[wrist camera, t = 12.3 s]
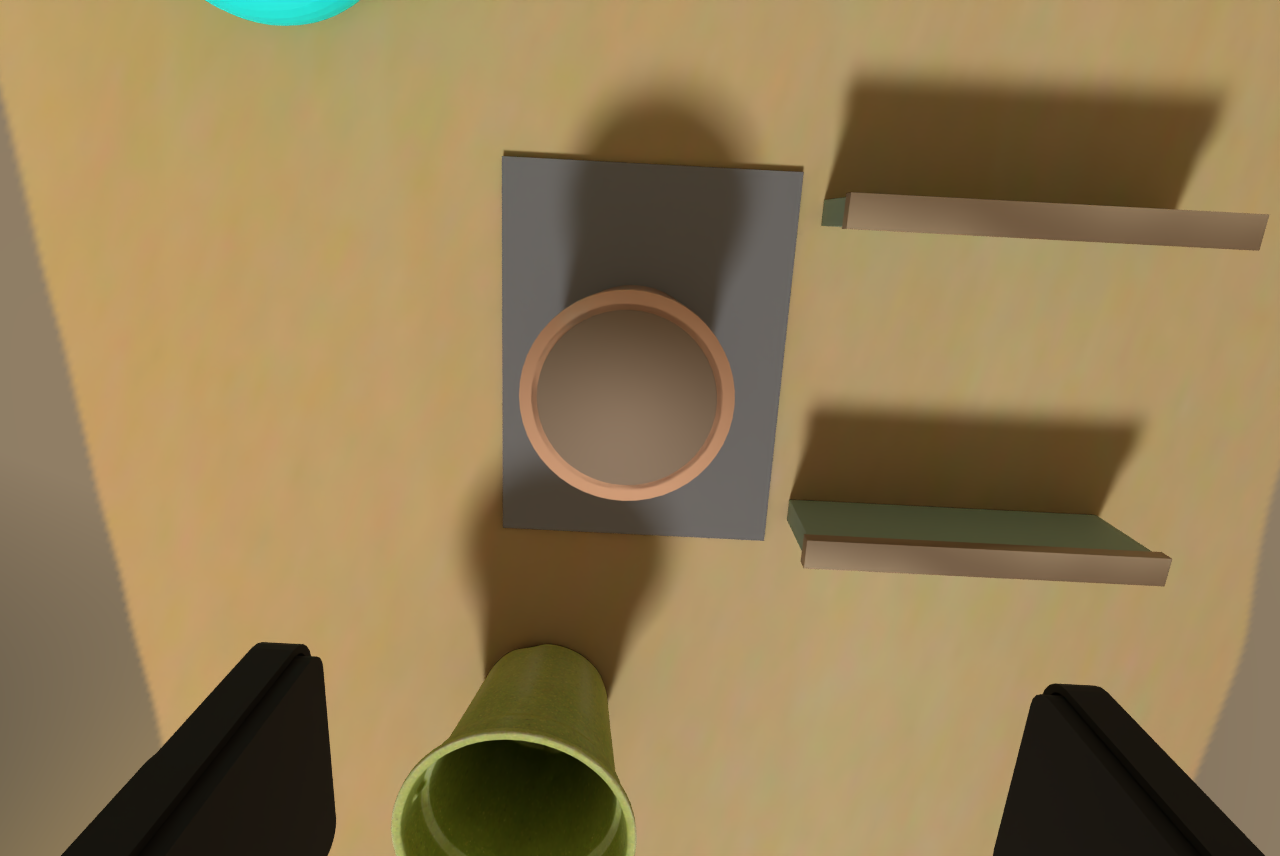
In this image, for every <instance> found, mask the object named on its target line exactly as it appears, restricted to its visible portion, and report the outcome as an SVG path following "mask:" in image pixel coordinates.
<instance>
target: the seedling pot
mask: <svg viewBox="0 0 1280 856" xmlns="http://www.w3.org/2000/svg"><path fill="white" fill-rule="evenodd" d="M519 403H520V412H521V417H522V421H523V425H524V428H525V430H526V433H527V436H528V438H529V440H530V442H531V444H532V446H533V448H534V449H535V451H536V452H537V454H538V455H539V456H540V458H541V459H542V460H543V462H544V463H545V464H546V465H547V466H548V467H549V468H550V469H551V470H552V471H553V472H554V473H555V474H556V475H558V476H559V477H560V478H561V479H563V480H564V481H566V482H567V483H569V484H570V485H571V486H573V487H575V488H577V489H579V490H581V491H583V492H586V493H589V494H591V495H594V496H597V497H601V498H606V499H611V500H621V501H637V500H644V499H651V498H654V497H658V496H662V495H665V494H667V493H669V492H672V491H674V490H677V489H678V488H680V487H682V486H684V485H685V484H687V483H689V482H690V481H691V480H693V479H694V478H695V477H697V476H698V475H699V474H700V473H701V472H702V471H703V470H704V469H705V468H706V467H707V466H708V465H709V464H710V463H711V462H712V460H713V459H714V458H715V457H716V455H717V454H718V452H719V450H720V449H721V447H722V445H723V444H724V441H725V439H726V437H727V435H728V432H729V429H730V426H731V422H732V419H733V412H734V406H735V389H734V381H733V375H732V371H731V368H730V364H729V361H728V359H727V357H726V354H725V352H724V350H723V348H722V346H721V345H720V343H719V341H718V339H717V338H716V336H715V334H714V333H713V332H712V331H711V329H710V328H709V327H708V325H707V324H706V323H705V322H704V321H703V320H702V319H701V318H700V317H699V316H698V315H697V314H695V313H694V312H693V311H691V310H690V309H689V308H687V307H686V306H685V305H683V304H681V303H680V302H679V301H677V300H676V299H675V298H673V297H672V296H670V295H668V294H666V293H665V292H662V291H660V290H657V289H655V288H651V287H647V286H640V285H623V286H616V287H612V288H609V289H605V290H603V291H601V292H599V293H596V294H592V295H589V296H587V297H585V298H582V299H580V300H578V301H576V302H574V303H573V304H571V305H570V306H568V307H567V308H565V309H564V310H562V311H561V312H560V313H559V314H558V315H556V316H555V317H554V318H553V319H552V320H551V321H550V322H549V323H548V324H547V326H546V327H545V328H544V329H543V330H542V331H541V332H540V334H539V335H538V337H537V338H536V340H535V341H534V343H533V344H532V346H531V348H530V350H529V352H528V354H527V357H526V360H525V363H524V366H523V368H522V373H521V379H520V387H519Z"/></svg>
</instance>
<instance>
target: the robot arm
mask: <svg viewBox="0 0 1280 856" xmlns="http://www.w3.org/2000/svg"><path fill="white" fill-rule="evenodd" d="M335 828H336V813H335V801H334V789H333V778H332V766H331V754H330V742H329V731H328V719H327V707H326V696H325V684H324V672H323V664H322V661H321V659H320V658H319V657H313V656H311V654H310V651H309V649H308V647H307V646H305V645H304V644H287V643H268V642H261V643H257V644H256V645H255V646H254V647H252V648H251V649H250V650H249V652H248V653H247V654H246V655H245V656H244V657H243V658H242V659H241V660H240V662H239V663H238V664H237V665H236V666H235V667H234V668H233V669H232V670H231V671H230V673H229V674H228V675H227V676H226V677H225V678H224V679H223V680H222V681H221V683H220V684H219V685H218V686H217V687H216V688H215V689H214V690H213V691H212V692H211V694H210V695H209V696H208V697H207V698H206V699H205V700H204V701H203V702H202V704H201V705H200V706H199V707H198V708H197V709H196V710H195V711H194V712H193V713H192V715H191V716H190V717H189V718H188V719H187V720H186V721H185V722H184V723H183V724H182V726H181V727H180V728H179V729H178V730H177V731H176V732H175V733H174V734H173V736H172V737H171V738H170V739H169V740H168V741H167V742H166V743H165V744H164V745H163V747H162V748H161V749H160V750H159V751H158V752H157V753H156V754H155V755H154V756H153V757H151V758H150V759H149V760H148V761H147V762H146V763H145V764H144V765H143V766H142V767H141V768H140V769H139V770H138V772H137V773H136V774H135V775H134V776H133V777H132V778H131V779H130V780H129V781H128V783H127V784H126V785H125V786H124V787H123V788H122V789H121V790H120V791H119V792H118V794H117V795H116V796H115V797H114V798H113V799H112V800H111V801H110V802H109V804H107V806H106V807H105V808H104V809H103V810H102V811H101V812H100V813H99V814H98V815H97V817H96V818H95V819H94V820H93V821H92V822H91V823H90V824H89V825H88V827H87V828H86V829H85V830H84V831H83V832H82V833H81V834H80V835H79V836H78V838H77V839H76V840H75V841H74V842H73V843H72V844H71V845H70V846H69V847H68V849H67V850H66V851H65V852H64V853H63V854H62V855H61V856H327V855H328V853H329V851H330V849H331V846H332V842H333V839H334V834H335ZM993 856H1265V855H1264V854H1263V853H1262V852H1261V851H1260V850H1259V849H1258V848H1257V847H1256V846H1255V845H1254V844H1253V843H1252V842H1251V841H1250V840H1249V839H1248V838H1247V837H1246V836H1245V834H1244V833H1243V832H1242V831H1241V830H1240V829H1239V828H1238V827H1237V826H1236V825H1235V824H1234V823H1233V822H1232V821H1231V820H1230V819H1229V818H1228V817H1227V816H1226V815H1225V814H1224V813H1223V812H1222V811H1221V810H1220V809H1219V807H1218V806H1216V804H1215V803H1214V802H1213V801H1212V800H1211V799H1210V798H1209V797H1208V796H1207V795H1206V794H1205V793H1204V792H1203V791H1202V790H1201V789H1200V788H1199V787H1198V786H1197V785H1196V784H1195V783H1194V782H1193V781H1192V779H1191V778H1190V777H1189V776H1188V775H1187V774H1186V773H1185V772H1184V771H1183V770H1182V769H1181V768H1180V767H1179V766H1178V765H1177V764H1176V763H1175V762H1174V761H1173V760H1172V759H1171V758H1170V757H1169V756H1168V755H1167V754H1166V752H1165V751H1164V750H1163V749H1162V748H1161V747H1160V746H1159V745H1158V744H1157V743H1156V742H1155V741H1154V740H1153V739H1152V738H1151V737H1150V736H1149V735H1148V734H1147V733H1146V732H1145V731H1144V730H1143V729H1142V728H1141V727H1140V726H1139V724H1138V723H1137V722H1136V721H1135V720H1134V719H1133V718H1132V717H1131V716H1130V715H1129V714H1128V713H1127V712H1126V711H1125V710H1124V709H1123V708H1122V707H1121V706H1120V705H1119V704H1118V703H1117V702H1116V701H1115V700H1114V699H1113V698H1112V696H1111V695H1110V694H1109V693H1108V692H1106V691H1105V690H1104V689H1102V688H1101V687H1097V686H1091V685H1072V684H1051V685H1049V686H1048V687H1047V688H1046V689H1045V690H1044V693H1043V694H1040V695H1036V696H1035V697H1034V698H1033V700H1032V703H1031V706H1030V710H1029V714H1028V717H1027V721H1026V725H1025V729H1024V733H1023V737H1022V741H1021V745H1020V749H1019V753H1018V757H1017V761H1016V765H1015V769H1014V773H1013V777H1012V781H1011V785H1010V789H1009V792H1008V796H1007V800H1006V804H1005V808H1004V812H1003V816H1002V820H1001V824H1000V828H999V832H998V836H997V840H996V844H995V848H994V853H993Z"/></svg>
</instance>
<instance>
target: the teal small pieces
mask: <svg viewBox="0 0 1280 856" xmlns="http://www.w3.org/2000/svg"><path fill="white" fill-rule="evenodd" d="M205 1H207V2H209V3H211V4H212V5H214V6H216V7H218V8H220V9H222V10H224V11H226V12H228V13H230V14H233V15H235V16H238V17H240V18H243V19H246V20H249V21H253V22H257V23H262V24H268V25H281V26H290V25H304V24H310V23H315V22H319V21H322V20H325V19H328V18H331V17H333V16H336V15H338V14H340V13H342V12H343V11H345V10H347V9H348V8H350V7H352V6H353V5H354V4H356V3H357V2H358V1H360V0H205Z"/></svg>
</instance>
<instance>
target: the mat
mask: <svg viewBox="0 0 1280 856" xmlns="http://www.w3.org/2000/svg"><path fill="white" fill-rule="evenodd" d="M803 173H804V172H790V171H771V170H753V169H734V168H715V167H696V166H678V165H659V164H640V163H621V162H603V161H584V160H565V159H546V158H528V157H509V156H502V343H503V528H522V529H541V530H561V531H581V532H601V533H621V534H641V535H661V536H681V537H701V538H720V539H740V540H760V541H764V535H765V526H766V516H767V507H768V498H769V489H770V479H771V470H772V461H773V451H774V442H775V433H776V423H777V414H778V405H779V396H780V386H781V377H782V368H783V358H784V349H785V340H786V331H787V321H788V312H789V303H790V293H791V284H792V275H793V265H794V256H795V247H796V238H797V228H798V219H799V210H800V200H801V191H802V182H803ZM623 285H640V286H647V287H651V288H655V289H657V290H660V291H662V292H665V293H666V294H668V295H670V296H672V297H673V298H675V299H676V300H677V301H679V302H680V303H681V304H683V305H685V306H686V307H687V308H689V309H690V310H691V311H693V312H694V313H695V314H697V315H698V316H699V317H700V318H701V319H702V320H703V321H704V322H705V323H706V324H707V325H708V327H709V328H710V329H711V331H712V332H713V333H714V334H715V336H716V338H717V339H718V341H719V343H720V345H721V346H722V348H723V350H724V352H725V354H726V357H727V359H728V361H729V364H730V368H731V371H732V375H733V381H734V389H735V406H734V412H733V419H732V422H731V426H730V429H729V432H728V435H727V437H726V439H725V441H724V444H723V445H722V447H721V449H720V450H719V452H718V454H717V455H716V457H715V458H714V459H713V460H712V462H711V463H710V464H709V465H708V466H707V467H706V468H705V469H704V470H703V471H702V472H701V473H700V474H699V475H698V476H697V477H695V478H694V479H693V480H691V481H690V482H689V483H687V484H685V485H684V486H682V487H680V488H678V489H677V490H674V491H672V492H669V493H667V494H665V495H662V496H658V497H654V498H651V499H644V500H637V501H621V500H611V499H606V498H601V497H597V496H594V495H591V494H589V493H586V492H583V491H581V490H579V489H577V488H575V487H573V486H571V485H570V484H569V483H567V482H566V481H564V480H563V479H561V478H560V477H559V476H558V475H556V474H555V473H554V472H553V471H552V470H551V469H550V468H549V467H548V466H547V465H546V464H545V463H544V462H543V460H542V459H541V458H540V456H539V455H538V454H537V452H536V451H535V449H534V448H533V446H532V444H531V442H530V440H529V438H528V436H527V433H526V430H525V428H524V425H523V421H522V417H521V412H520V403H519V387H520V379H521V373H522V368H523V366H524V363H525V360H526V357H527V354H528V352H529V350H530V348H531V346H532V344H533V343H534V341H535V340H536V338H537V337H538V335H539V334H540V332H541V331H542V330H543V329H544V328H545V327H546V326H547V324H548V323H549V322H550V321H551V320H552V319H553V318H554V317H555V316H556V315H558V314H559V313H560V312H561V311H562V310H564V309H565V308H567V307H568V306H570V305H571V304H573V303H574V302H576V301H578V300H580V299H582V298H585V297H587V296H589V295H592V294H596V293H599V292H601V291H603V290H605V289H609V288H612V287H616V286H623Z"/></svg>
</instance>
